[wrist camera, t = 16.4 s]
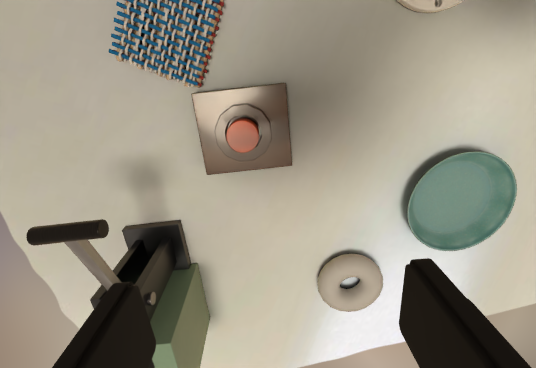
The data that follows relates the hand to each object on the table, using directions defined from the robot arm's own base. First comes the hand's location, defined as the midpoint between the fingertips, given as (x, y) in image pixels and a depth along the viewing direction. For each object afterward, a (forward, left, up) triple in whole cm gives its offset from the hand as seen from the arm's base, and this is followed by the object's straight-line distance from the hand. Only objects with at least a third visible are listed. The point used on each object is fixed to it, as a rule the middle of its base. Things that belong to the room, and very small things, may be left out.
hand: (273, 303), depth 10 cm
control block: (-2, -2, -29) cm, 29 cm away
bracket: (+14, -17, -29) cm, 36 cm away
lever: (+9, -17, -17) cm, 26 cm away
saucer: (+11, +26, -29) cm, 40 cm away
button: (-2, -2, -25) cm, 25 cm away
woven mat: (-14, -9, -29) cm, 33 cm away
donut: (+23, +11, -29) cm, 39 cm away
